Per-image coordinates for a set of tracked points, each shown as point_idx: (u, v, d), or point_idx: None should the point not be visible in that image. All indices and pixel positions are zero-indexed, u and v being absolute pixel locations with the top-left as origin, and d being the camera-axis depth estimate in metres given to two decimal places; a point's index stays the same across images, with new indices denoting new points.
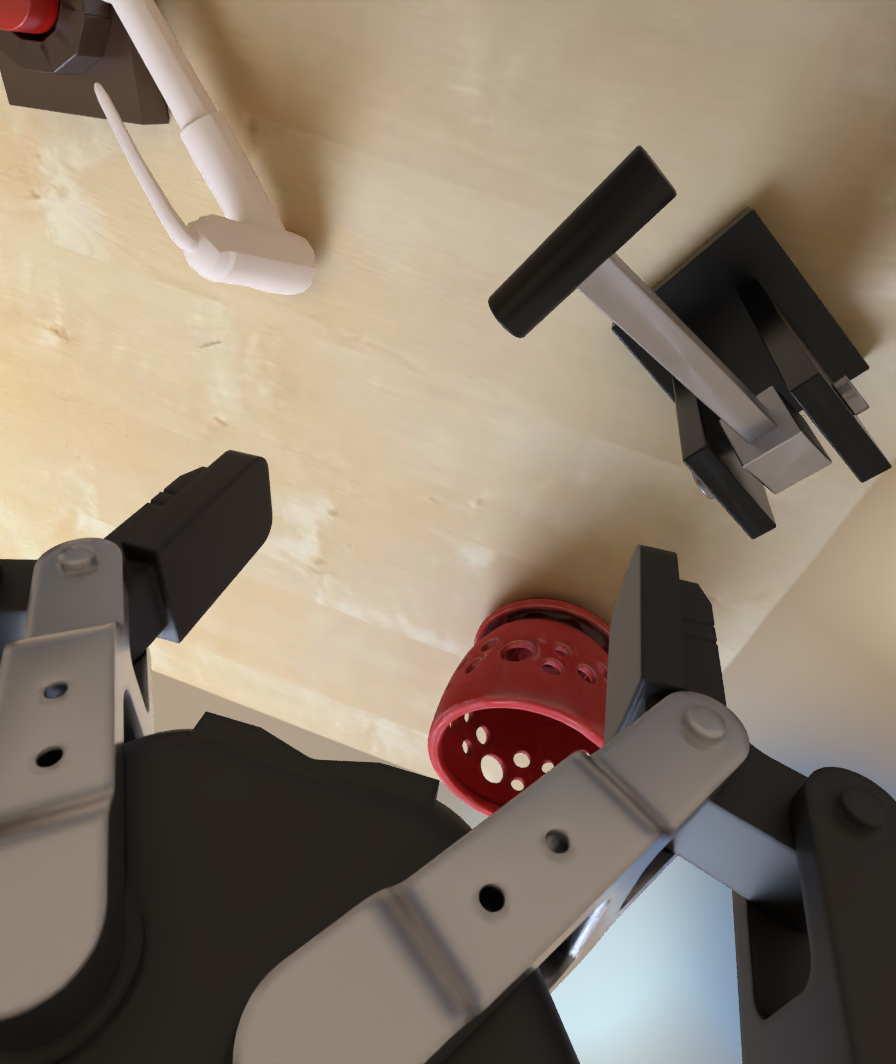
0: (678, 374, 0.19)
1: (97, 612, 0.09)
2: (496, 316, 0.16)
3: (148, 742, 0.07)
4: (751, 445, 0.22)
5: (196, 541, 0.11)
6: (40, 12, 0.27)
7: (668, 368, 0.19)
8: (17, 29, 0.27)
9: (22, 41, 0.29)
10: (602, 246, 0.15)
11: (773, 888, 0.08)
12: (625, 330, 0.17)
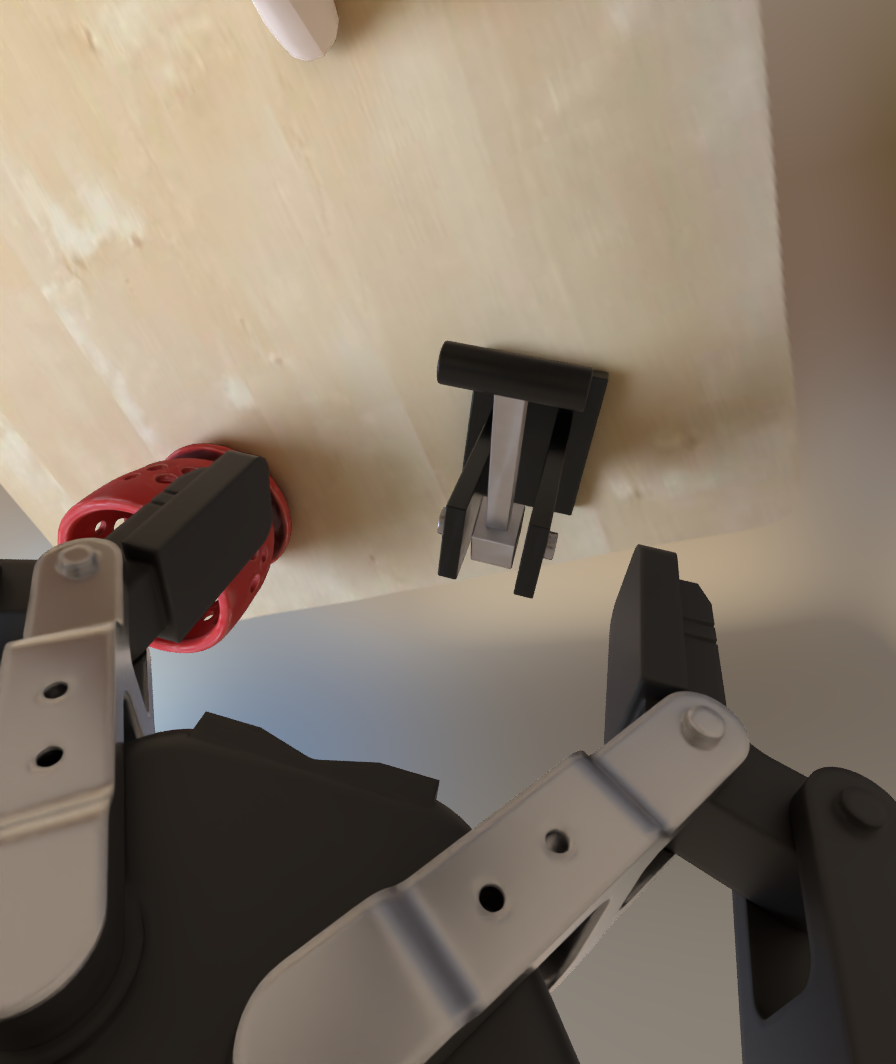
0: (492, 472, 0.25)
1: (97, 612, 0.09)
2: (439, 361, 0.20)
3: (148, 742, 0.07)
4: (486, 529, 0.30)
5: (196, 541, 0.11)
6: None
7: (491, 465, 0.25)
8: None
9: None
10: (528, 396, 0.20)
11: (773, 888, 0.08)
12: (492, 432, 0.23)
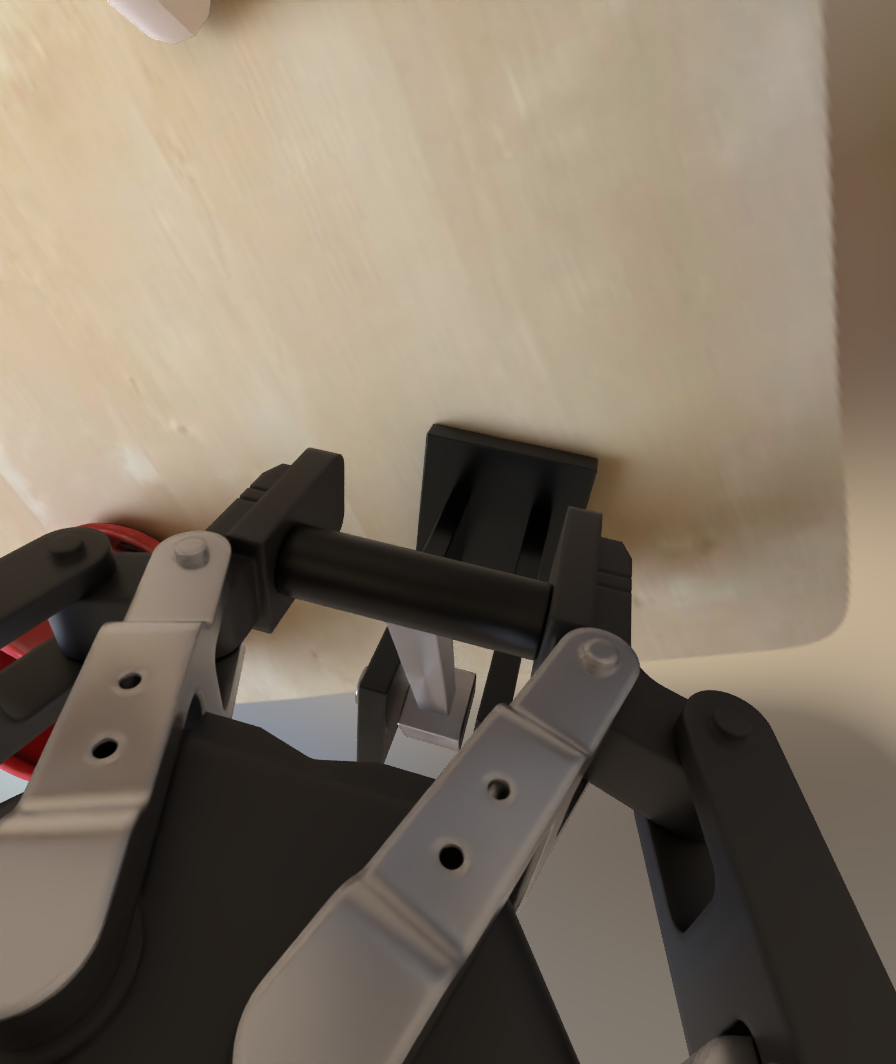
0: (409, 675, 0.16)
1: (193, 607, 0.09)
2: (277, 569, 0.11)
3: (202, 751, 0.07)
4: (419, 712, 0.21)
5: None
6: None
7: (405, 670, 0.16)
8: None
9: None
10: (436, 632, 0.11)
11: (660, 801, 0.09)
12: (396, 646, 0.14)
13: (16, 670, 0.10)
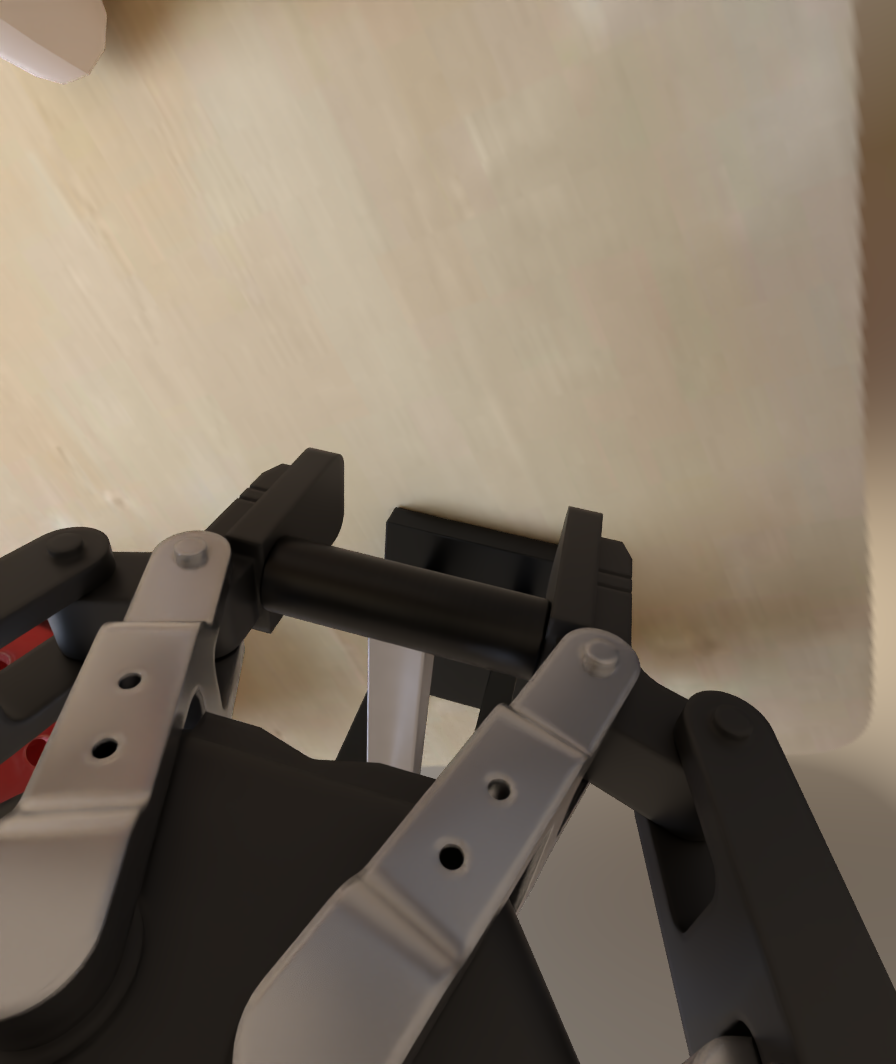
0: None
1: (193, 606, 0.09)
2: (265, 567, 0.11)
3: (202, 751, 0.07)
4: None
5: (288, 535, 0.11)
6: None
7: None
8: None
9: None
10: (428, 642, 0.10)
11: (660, 801, 0.09)
12: (368, 708, 0.12)
13: (16, 670, 0.10)
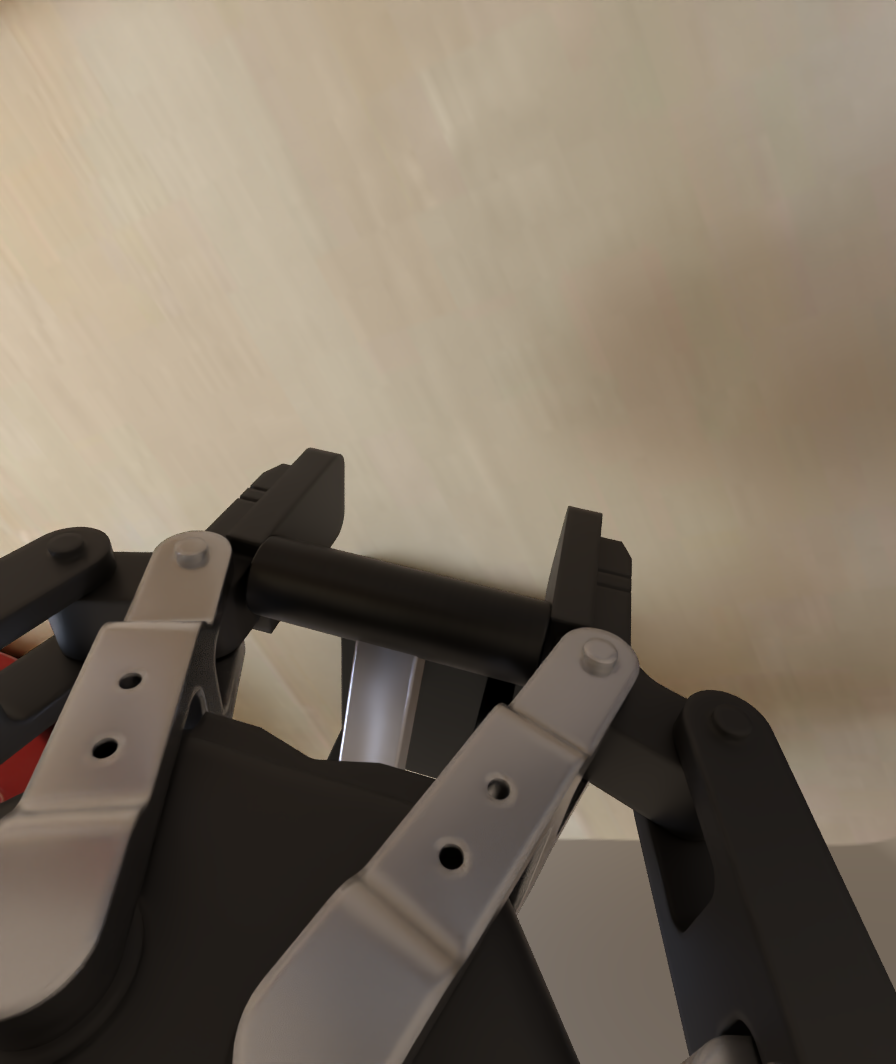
0: None
1: (193, 606, 0.09)
2: (257, 554, 0.10)
3: (202, 751, 0.07)
4: None
5: (289, 535, 0.11)
6: None
7: None
8: None
9: None
10: (424, 636, 0.10)
11: (659, 801, 0.09)
12: (342, 748, 0.11)
13: (16, 670, 0.10)
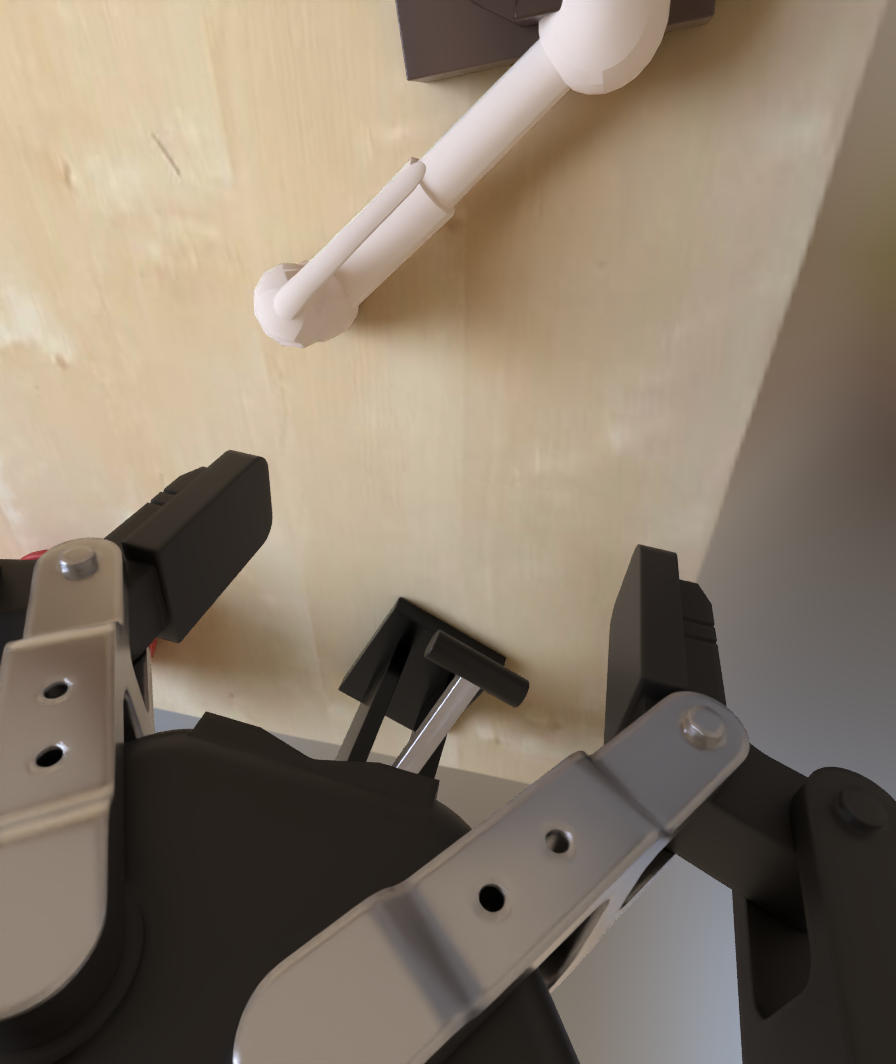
0: (411, 751, 0.30)
1: (97, 612, 0.09)
2: (437, 639, 0.28)
3: (148, 742, 0.07)
4: None
5: (196, 541, 0.11)
6: None
7: (414, 744, 0.30)
8: None
9: None
10: (487, 683, 0.28)
11: (773, 888, 0.08)
12: (437, 711, 0.29)
13: None
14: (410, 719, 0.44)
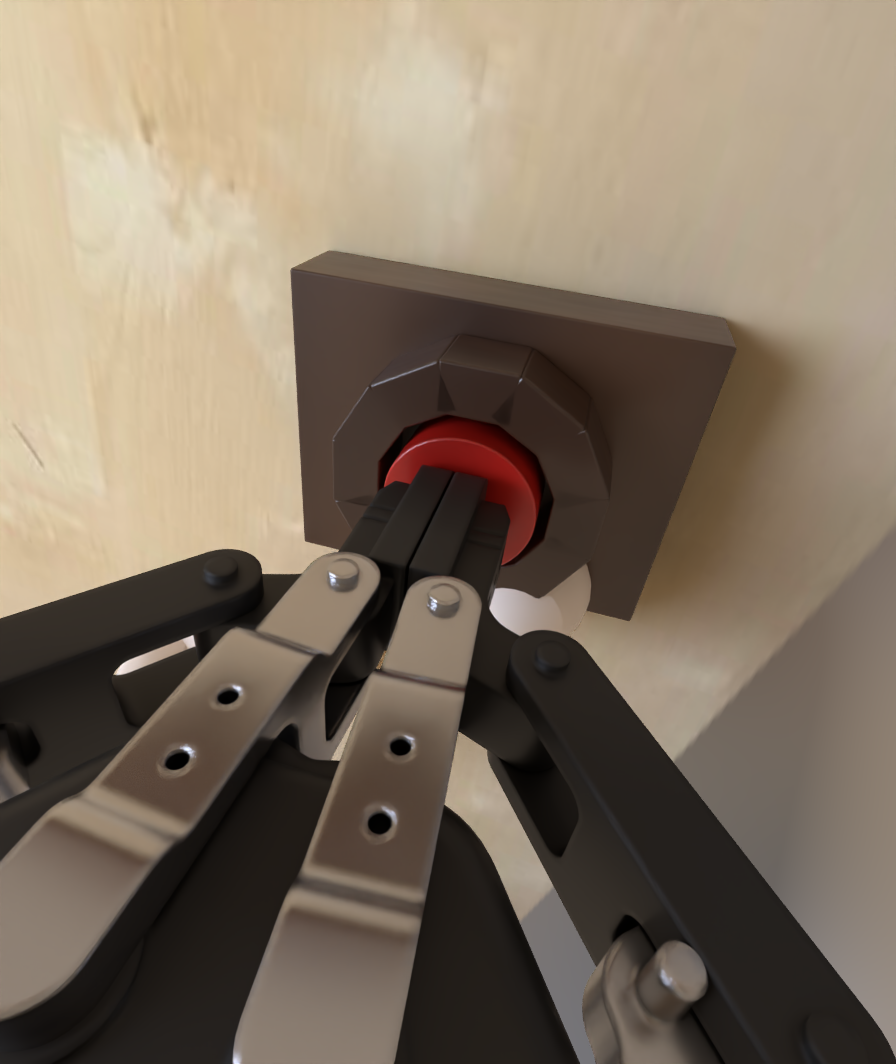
0: None
1: (321, 632, 0.09)
2: None
3: (269, 791, 0.07)
4: None
5: None
6: None
7: None
8: None
9: (375, 462, 0.14)
10: None
11: (497, 733, 0.09)
12: None
13: (157, 670, 0.10)
14: None
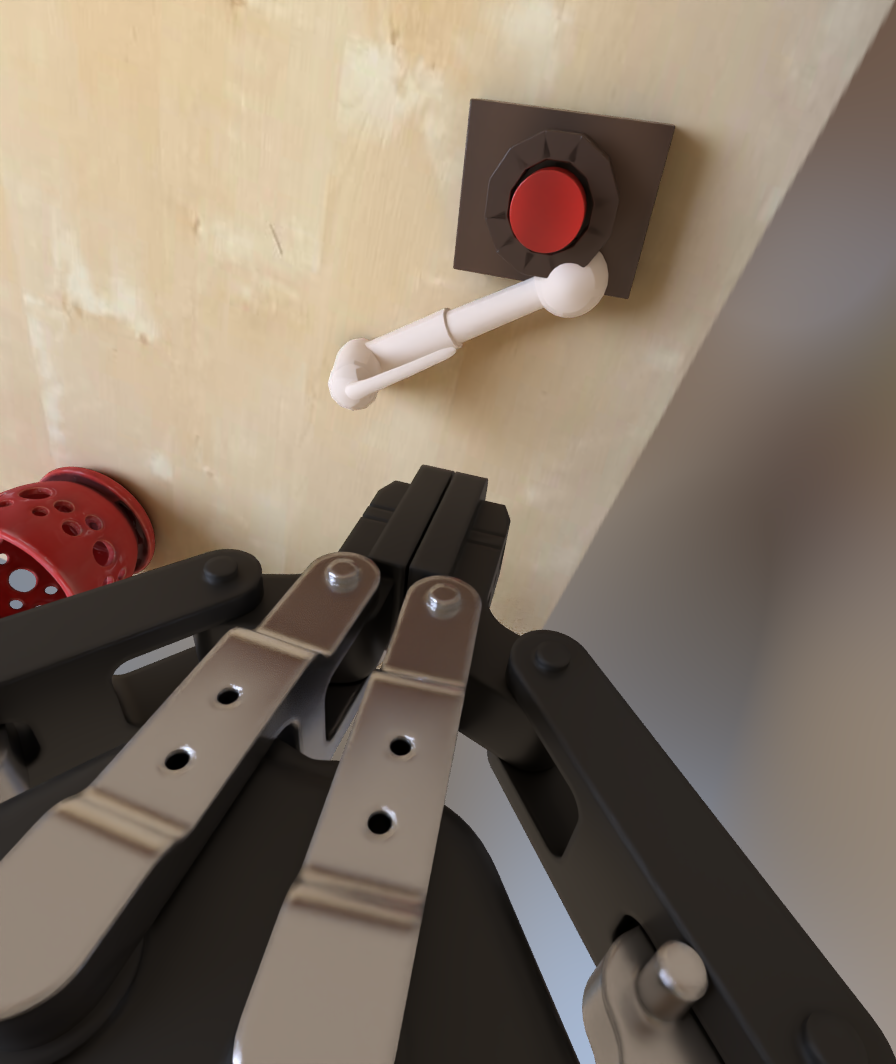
0: None
1: (321, 632, 0.09)
2: None
3: (269, 791, 0.07)
4: None
5: None
6: None
7: None
8: (510, 219, 0.30)
9: (509, 191, 0.30)
10: None
11: (497, 733, 0.09)
12: None
13: (157, 670, 0.10)
14: None
